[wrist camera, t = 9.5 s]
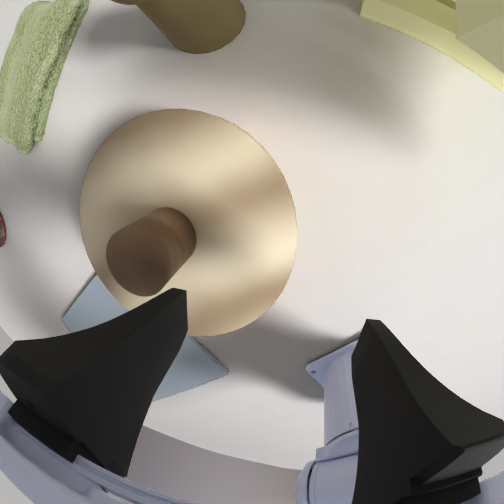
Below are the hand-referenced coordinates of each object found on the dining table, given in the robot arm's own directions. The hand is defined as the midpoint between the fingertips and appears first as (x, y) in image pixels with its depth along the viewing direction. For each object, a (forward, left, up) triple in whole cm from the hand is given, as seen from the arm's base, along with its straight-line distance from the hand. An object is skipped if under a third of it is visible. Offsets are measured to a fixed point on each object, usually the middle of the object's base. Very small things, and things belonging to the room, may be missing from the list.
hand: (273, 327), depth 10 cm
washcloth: (+31, +9, -11) cm, 34 cm away
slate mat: (0, +21, -10) cm, 23 cm away
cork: (+17, -6, -11) cm, 21 cm away
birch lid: (+5, +4, -6) cm, 9 cm away
